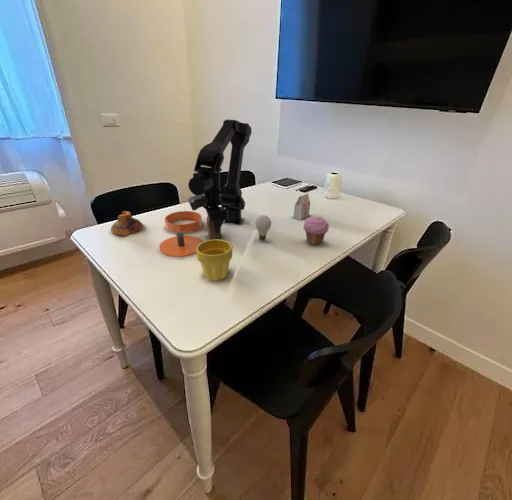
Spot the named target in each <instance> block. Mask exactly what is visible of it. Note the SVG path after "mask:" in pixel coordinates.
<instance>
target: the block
mask: <svg viewBox="0 0 512 500" xmlns="http://www.w3.org/2000/svg"><path fill="white" fill-rule="evenodd" d="M206 227H207V228H206V229H207V237H208V240H213V239H219V240H221V239H222V227H221V228H220V230H219V233H215V230H214V226H213V222H212V221H211V220H209V218H208V216H206Z"/></svg>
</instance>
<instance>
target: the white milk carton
mask: <svg viewBox="0 0 512 500" xmlns="http://www.w3.org/2000/svg"><path fill="white" fill-rule="evenodd" d="M310 210H311V201H310V197H309V193H305V194H303V195H300V196H298V198H297V201H296V202H295V204H294V207H293V219H296V220H299V221H302V220H304V219H307V218H309V216H310Z"/></svg>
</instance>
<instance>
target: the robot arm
mask: <svg viewBox="0 0 512 500" xmlns="http://www.w3.org/2000/svg"><path fill="white" fill-rule="evenodd" d="M252 130H253V129H252V126H251V125H250V124H249V123H247V122H240V121H239V120H236V119H228V118H227V119H224V120H223V122H222V126H221V127H220V129H219V130H218V132H217V134H216V135H215V136H214V137H213V139H212V141H211V142H209V143H207V144H205V145H204V146H203V147H202V148H201V149H200V150H199V152H198V154H197V157H196V162H195V165H194V169H193V174H192V177H191V178H190V179H189V181H188V189H189V191H190V192H191V194H193V196H191V197H189V198H187V202H188V204H189V206H190V208H191V211H192V212H195V211H197V210H198V209H200V208H203V209H204V210H205V211H206V214H207V217H208V218H209V220H211V221H212V222H213V226H214V230H215V233H219V230H220V228H221V229H222V226H223V224H224V223H225V224H232V225H240V224H241V223H242V220H243V217H242V210H245V207H246V201H245V199H244V198H243V196H242V195H243V192H242V189H241V186H240V180H241V174H242V173H241V172H242V164H243V157H244V150H245V147H247V145H248V143H249V142H250V138H251V136H252ZM229 144H231V148H230V156H229V165H228V173H227V180H226V183H225V185H224V186H222V187H221V172H222V171H223V169H222V168H221V167H222V165H223V163H224V159H225V155H224V153H225V150H226V149H227V147H228V145H229Z"/></svg>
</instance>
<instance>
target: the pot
mask: <svg viewBox="0 0 512 500" xmlns="http://www.w3.org/2000/svg"><path fill="white" fill-rule="evenodd" d="M180 220H183V221H193V222H189V223H184V224H183V223H182V224H181V223H173V222H175V221H176V222H177V221H180ZM164 224H165V226H164V227H165V229H166V230H167V231H169V232H171V233H175V234H176V233H178V232H183V234H189V233H193V232H196V231H198V230H200V229H201V228H202V227H203V220H202V215H201V213H199V212H196V211H193V210H180V211H175V212H171V213H169V214H167V215H166V216H164Z"/></svg>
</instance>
